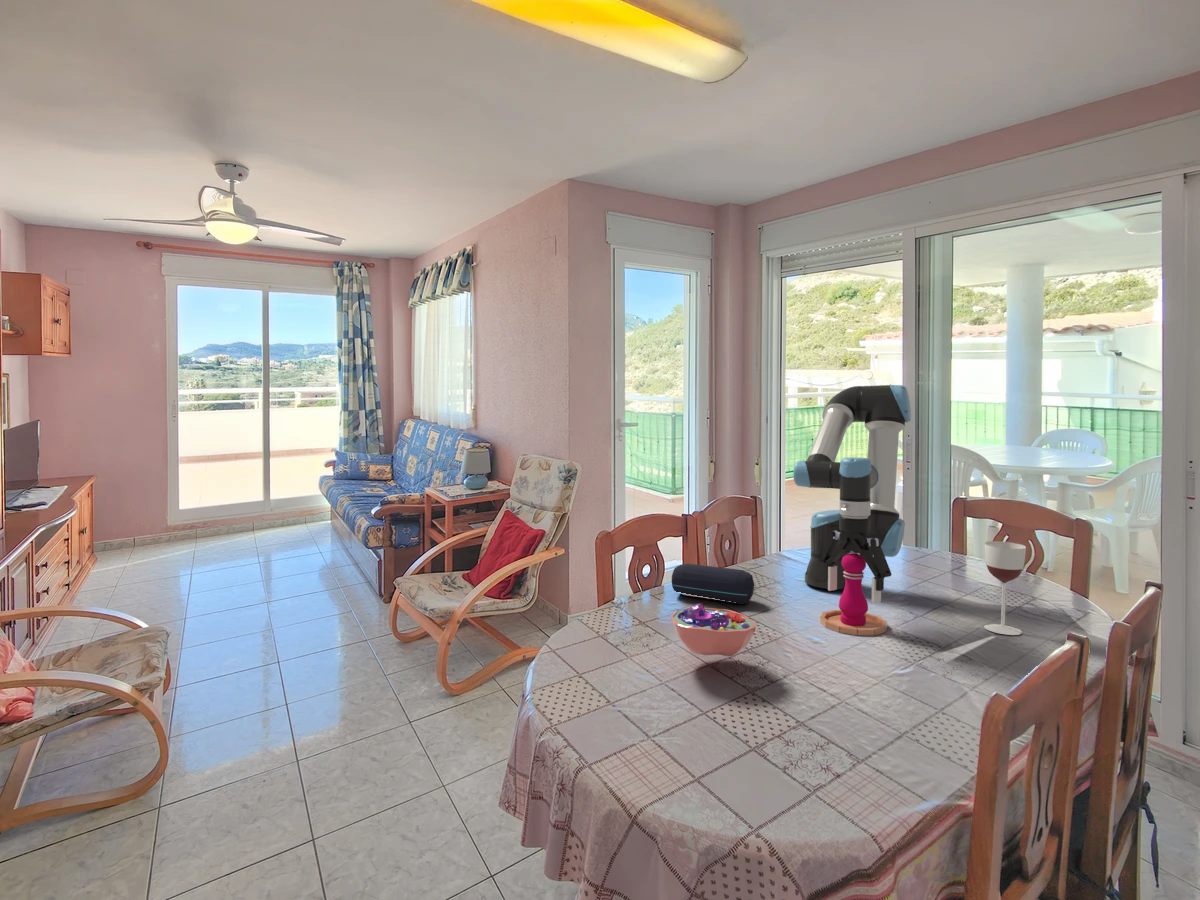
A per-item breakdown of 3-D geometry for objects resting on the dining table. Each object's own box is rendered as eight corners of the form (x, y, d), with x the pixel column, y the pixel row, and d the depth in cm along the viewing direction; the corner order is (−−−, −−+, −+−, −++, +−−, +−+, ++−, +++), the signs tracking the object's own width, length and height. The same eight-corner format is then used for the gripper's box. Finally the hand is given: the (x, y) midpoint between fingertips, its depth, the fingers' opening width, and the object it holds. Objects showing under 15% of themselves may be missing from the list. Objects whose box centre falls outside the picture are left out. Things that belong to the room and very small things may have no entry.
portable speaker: (758, 601, 186) (758, 568, 185) (748, 610, 177) (748, 575, 177) (681, 590, 198) (681, 559, 198) (668, 597, 190) (668, 565, 189)
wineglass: (1016, 625, 163) (1019, 542, 161) (1028, 637, 153) (1031, 549, 152) (978, 621, 165) (980, 540, 164) (988, 633, 156) (990, 547, 155)
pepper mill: (870, 627, 159) (871, 550, 159) (841, 626, 161) (841, 549, 160) (864, 618, 167) (865, 545, 166) (836, 617, 168) (836, 544, 167)
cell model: (741, 675, 132) (741, 623, 131) (657, 656, 143) (657, 608, 142) (765, 650, 146) (766, 603, 146) (688, 635, 157) (688, 591, 156)
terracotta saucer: (808, 621, 167) (808, 615, 167) (847, 611, 175) (847, 606, 174) (859, 639, 153) (859, 633, 153) (899, 628, 161) (899, 622, 161)
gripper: (807, 511, 171) (806, 587, 172) (888, 524, 150) (886, 610, 151) (825, 509, 175) (824, 583, 176) (907, 521, 153) (906, 606, 154)
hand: (853, 596), depth 163 cm, fingers open, 13 cm apart
